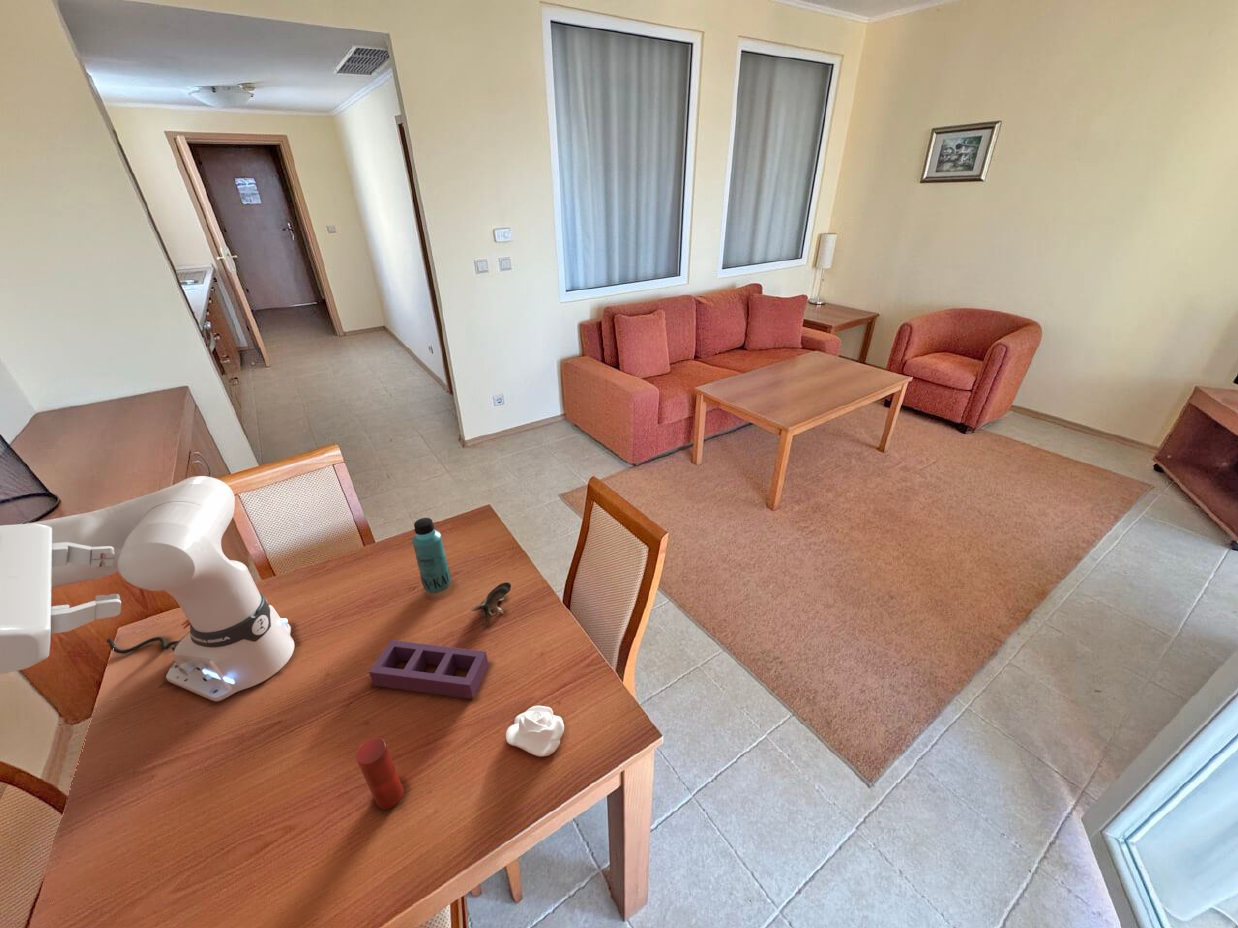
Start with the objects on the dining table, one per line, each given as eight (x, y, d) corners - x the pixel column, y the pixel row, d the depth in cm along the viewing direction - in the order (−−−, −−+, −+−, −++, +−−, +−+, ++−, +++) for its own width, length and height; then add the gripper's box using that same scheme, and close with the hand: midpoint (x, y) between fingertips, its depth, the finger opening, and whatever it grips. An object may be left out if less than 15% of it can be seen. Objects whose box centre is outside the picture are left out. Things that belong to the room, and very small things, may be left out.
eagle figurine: (510, 623, 108) (519, 589, 115) (487, 606, 105) (498, 572, 112) (485, 632, 111) (496, 598, 118) (462, 615, 108) (475, 582, 115)
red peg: (371, 806, 77) (350, 762, 71) (385, 780, 81) (366, 735, 75) (394, 811, 77) (375, 766, 71) (408, 784, 80) (390, 739, 74)
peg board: (373, 685, 96) (368, 671, 94) (395, 653, 103) (391, 639, 101) (473, 699, 93) (469, 685, 92) (488, 665, 100) (485, 651, 98)
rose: (508, 755, 80) (499, 704, 88) (511, 771, 82) (502, 720, 90) (568, 734, 82) (554, 687, 90) (570, 750, 85) (556, 702, 93)
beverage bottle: (425, 583, 121) (407, 516, 112) (453, 577, 123) (438, 511, 113) (424, 601, 116) (405, 532, 106) (453, 595, 118) (437, 527, 108)
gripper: (-91, 568, 49) (108, 554, 60) (-140, 714, 37) (121, 664, 47) (-91, 511, 48) (113, 507, 58) (-143, 644, 35) (128, 608, 46)
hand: (117, 578), depth 53 cm, fingers open, 8 cm apart
